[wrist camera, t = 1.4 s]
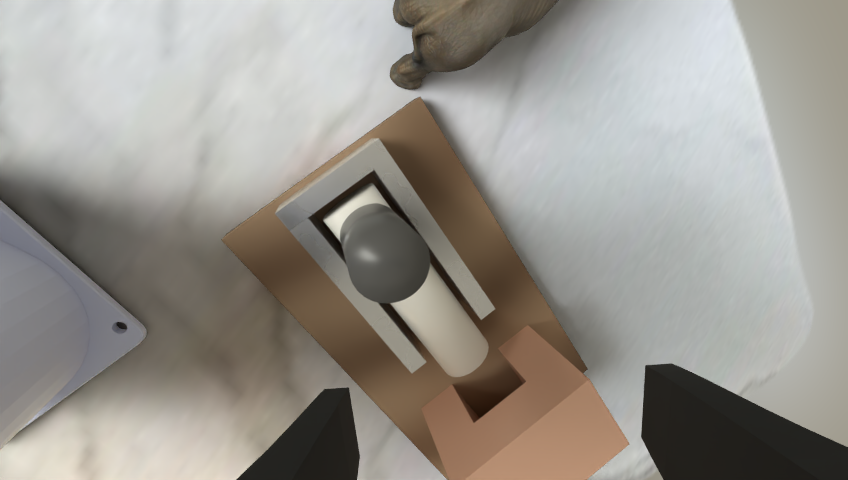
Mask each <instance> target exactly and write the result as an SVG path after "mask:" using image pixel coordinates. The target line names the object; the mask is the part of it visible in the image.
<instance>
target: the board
mask: <svg viewBox="0 0 848 480" xmlns="http://www.w3.org/2000/svg"><path fill="white" fill-rule="evenodd" d="M371 138H376V139H380V141H381V142H382V144H383V145H384V147H385V148H386V150H387V151H388V152H389V154H390V155H391V157H392V158H393V160H394V161H395V163H396V164H397V166H398V167H399V169H400V170H401V171H402V173H403V174H404V176H405V177H406V179H407V180H408V182H409V183H410V185H411V186H412V188H413V189H414V190H415V192H416V193H417V195H418V196H419V198H420V199H421V201H422V202H423V204H424V205H425V207H426V208H427V210H428V211H429V212H430V214H431V215H432V217H433V218H434V220H435V221H436V223H437V224H438V226H439V227H440V229H441V230H442V231H443V233H444V234H445V236H446V237H447V239H448V240H449V242H450V243H451V245H452V246H453V248H454V249H455V250H456V252H457V253H458V255H459V256H460V258H461V259H462V261H463V262H464V264H465V265H466V267H467V268H468V269H469V271H470V272H471V274H472V275H473V277H474V278H475V280H476V281H477V283H478V284H479V286H480V287H481V289H482V290H483V291H484V293H485V294H486V296H487V297H488V299H489V300H490V302H491V303H492V305H493V306H494V308H495V310H493V311H492V312H491V313H490V314H488V315H487V316H486V317H484V318H483V319H482V320H481V319H480V318H479V317H478V316H477V315H476V314H475V313H474V312H473V311H472V310H471V308H470V307H469V306H468V305H467V304H466V303H465V302H464V301H463V299H462V298H461V297H460V295H459V294H458V292H457V291H456V290H455V288H454V287H453V285H452V284H451V283H450V281H449V280H448V278H447V277H446V276H445V274H444V273H443V271H442V270H441V269H440V267H439V266H438V264H437V263H436V262H435V260H434V259H433V257H432V256H431V255H430V263H431V264H432V266H433V267H434V269H435V270H436V271H437V273H438V274H439V275H440V277H441V278H442V280H443V281H444V282H445V284H446V285H447V286H448V288H449V289H450V291H451V292H452V293H453V295H454V296H455V298H456V299H457V300H458V302H459V303H460V304H461V306H462V307H463V309H464V310H465V311H466V313H467V314H468V316H469V317H470V318H471V320H472V321H473V322H474V324H475V325H476V327H477V328H478V329H479V331H480V332H481V334H482V335H483V336H484V338H485V339H486V340H487V342H488V346H489V349H488V354H487V356H486V358H485V360H484V361H483V363H482V364H481V365H480V366H479V367H478V368H477V369H476V370H474V371H473V372H471V373H470V374H467V375H465V376H462V377H452V376H449V375H448V374H447V373H446V372H445V371H444V370H443V368H442V367H441V366H440V365H439V363H438V362H437V361H436V360H435V358H434V357H433V356H432V355H431V353H430V352H429V351H428V350H427V349H426V347H425V346H424V345H423V344H422V342H421V341H420V340H419V339H418V337H417V336H416V335H415V334H414V332H413V331H412V330H411V329H410V328H409V326H408V325H407V324H406V323H405V321H404V320H403V319H402V318H401V316H400V315H399V314H398V313H397V311H396V310H395V309H394V308H393V307H392V305H391V304H390V303H386V304H387V305H388V306H389V307H390V309H391V310H392V311H393V312H394V314H395V315H396V316H397V317H398V318H399V320H400V321H401V322H402V323H403V325H404V326H405V327H406V328H407V330H408V331H409V332H410V333H411V334H412V336H413V337H414V338H415V340H416V342H417V344H418V346H419V348H420V350H421V352H422V354H423V356H424V358H425V360H426V363H425V364H424V365H422V366H421V367H420V368H419V369H417V370H416V371H415V372H413V373H411V372H410V371H409V370H408V369H407V367H406V366H405V365H404V364H403V363H402V362H401V360H400V359H399V358H398V357H397V356H396V355H395V353H394V352H393V351H392V350H391V349H390V348H389V346H388V345H387V344H386V343H385V342H384V341H383V339H382V338H381V337H380V336H379V335H378V334H377V332H376V331H375V330H374V329H373V328H372V327H371V325H370V324H369V323H368V322H367V321H366V320H365V318H364V317H363V316H362V315H361V314H360V313H359V311H358V310H357V309H356V308H355V307H354V306H353V304H352V303H351V302H350V301H349V300H348V299H347V297H346V296H345V295H344V294H343V293H342V292H341V290H340V289H339V288H338V287H337V286H336V285H335V283H334V282H333V281H332V280H331V279H330V278H329V276H328V275H327V274H326V273H325V272H324V271H323V269H322V268H321V267H320V266H319V265H318V264H317V262H316V261H315V260H314V259H313V258H312V257H311V255H310V254H309V253H308V252H307V251H306V249H305V248H304V247H303V246H302V245H301V244H300V242H299V241H298V240H297V239H296V238H295V237H294V235H293V234H292V233H291V232H290V231H289V230H288V228H287V227H286V226H285V225H284V224H283V223H282V221H281V220H280V219H279V218H278V217H277V216H276V214H275V212H276V210H277V209H278V207H279V205H280V204H281V203H282V202H283V201H285V200H286V199H288V198H289V197H290V196H292V195H293V194H294V193H296V192H297V191H299V190H300V189H301V188H303V187H304V186H306V185H307V184H308V183H310V182H311V181H313V180H314V179H315V178H317V177H318V176H320V175H321V174H322V173H324V172H325V171H326V170H328V169H329V168H331V167H332V166H333V165H335V164H336V163H338V162H339V161H340V160H342V159H343V158H345V157H346V156H347V155H349V154H350V153H351V152H353V151H354V150H356V149H357V148H358V147H360V146H361V145H363V144H364V143H365V142H367V141H368V140H370V139H371ZM370 183H373V184H374V185H375V187H376V188H377V190H378V191H379V192H380V194H381V195H382V197H383V198H384V199H385V201H386V202H387V203H388V205H389V206H390V208H391V209H392V210H393V211H394V212H395V213H396V214H397V215H398V216H399V217H400V218H401V219H403V220H404V221H405V222H406V223H407V221H406V220H405V218H404V217H403V216H402V214H401V213H400V211H399V210H398V209H397V207H396V206H395V204H394V203H393V202H392V200H391V199H390V197H389V196H388V195H387V193H386V192H385V190H384V189H383V188H382V186H381V185H380V183H379V182H378V181H377V179H376V178H375V176H374V175H373V174H372V172H370V173H369V174H367V175H366V176H365V177H363V178H362V179H361V180H359V181H358V182H356V183H355V184H354V185H352V186H351V187H350V188H348V189H347V190H345V191H344V192H343V193H341V194H340V195H339V196H337V197H336V198H334V199H333V200H332V201H330V202H329V203H328V204H326V205H325V206H323V207H322V208H321V209H319V210H318V211H316V212H315V213H314V215H315V216H316V218H317V219H318V220H319V221H320V223H321V224H322V225H323V226H324V227H325V229H326V230H327V231H328V232H329V234H330V235H331V236H332V237H333V239H334V240H335V241H336V242H337V243H338V245H339V246H340V247H341V248H342V244H341V242H340V241H339V240H338V239H337V237H336V236H335V235H334V234H333V232H332V231H331V230H330V229H329V227H328V226H327V225H326V224H325V222H324V221H323V218H324V216H325V215H326V214H327V213H328V212H329V211H330V210H331V209H332V208H333V207H334V206H335V205H336V204H338V203H339V202H340V201H341V200H343V199H344V198H345V197H347V196H348V195H350V194H351V193H353V192H354V191H356V190H357V189H359V188H361V187H363V186H365V185H367V184H370ZM407 224H408V223H407ZM408 225H409V224H408ZM409 226H410V225H409ZM222 241H223V242H224V243H225V244H226V245H227V246H228V248H229V249H230V250H231V251H232V252H233V253H234V254H235V255H236V256H237V257H238V258H239V259H240V260H241V261H242V262H243V263H244V264H245V266H246V267H247V268H248V269H249V270H250V271H251V272H252V273H253V274H254V275H255V276H256V277H257V278H258V279H259V280H260V281H261V283H262V284H263V285H264V286H265V287H266V288H267V289H268V290H269V291H270V292H271V293H272V294H273V295H274V296H275V297H276V298H277V299H278V301H279V302H280V303H281V304H282V305H283V306H284V307H285V308H286V309H287V310H288V311H289V312H290V313H291V314H292V315H293V316H294V318H295V319H296V320H297V321H298V322H299V323H300V324H301V325H302V326H303V327H304V328H305V329H306V330H307V331H308V332H309V333H310V334H311V336H312V337H313V338H314V339H315V340H316V341H317V342H318V343H319V344H320V345H321V346H322V347H323V348H324V349H325V350H326V351H327V352H328V354H329V355H330V356H331V357H332V358H333V359H334V360H335V361H336V362H337V363H338V364H339V365H340V366H341V367H342V368H343V369H344V371H345V372H346V373H347V374H348V375H349V376H350V377H351V378H352V379H353V380H354V381H355V382H356V383H357V384H358V385H359V386H360V387H361V389H362V390H363V391H364V392H365V393H366V394H367V395H368V396H369V397H370V398H371V399H372V400H373V401H374V402H375V403H376V404H377V406H378V407H379V408H380V409H381V410H382V411H383V412H384V413H385V414H386V415H387V416H388V417H389V418H390V419H391V420H392V421H393V422H394V424H395V425H396V426H397V427H398V428H399V429H400V430H401V431H402V432H403V433H404V434H405V435H406V436H407V437H408V438H409V439H410V440H411V442H412V443H413V444H414V445H415V446H416V447H417V448H418V449H419V450H420V451H421V452H422V453H423V454H424V455H425V456H426V457H427V459H428V460H429V461H430V462H431V463H432V464H433V465H434V466H435V467H436V468H437V469H438V470H439V471H440V472H441V473H442V474H443V475H444V477H445V478H446V479H447V480H449V478H448V476H447V473H446V471H445V468H444V465H443V463H442V460H441V458H440V455H439V453H438V450H437V448H436V445H435V443H434V440H433V437H432V435H431V432H430V430H429V427H428V425H427V422H426V420H425V417H424V415H423V412H422V409H421V408H422V407H424V406H425V405H426V404H427V403H429V402H430V401H431V400H433V399H434V398H435V397H436V396H438V395H439V394H440V393H442V392H443V391H444V390H445V389H447V388H448V387H449V386H450V385H453V386H454V387H455V389H456V390H457V391H458V392H459V393H460V395H461V396H462V397H463V398H464V400H465V401H466V402H467V403H468V404H469V406H470V407H471V408H472V409H473V411H474V412H475V413H476V414H477V416H478V417H479V418H481V417H482V416H484V415H485V414H486V413H487V412H489V411H490V410H491V409H493V408H494V407H495V406H496V405H498V404H499V403H500V402H501V401H503V400H504V399H505V398H506V397H508V396H509V395H510V394H511V393H513V392H514V391H515V390H516V389H518V388H519V387H520V386H521V385H523V383H522V382H521V380H520V379H519V378H518V376H517V375H516V373H515V372H514V371H513V369H512V368H511V366H510V365H509V364H508V362H507V361H506V359H505V358H504V357H503V355H502V354H501V352H500V351H499V350H498V348H499V347H500V346H501V345H503V344H504V343H505V342H507V341H508V340H509V339H510V338H512V337H513V336H514V335H516V334H517V333H518V332H519V331H521V330H522V329H523V328H524V327H526V326H527V325H528V326H529V327H530V328H532V329H533V330H534V331H535V332H536V333H537V334H538V335H540V336H541V337H542V338H543V339H544V340H545V341H546V342H548V343H549V344H550V345H551V346H552V347H553V348H554V349H555V350H557V351H558V352H559V353H560V354H561V355H562V356H563V357H565V358H566V359H567V360H568V361H569V362H570V363H571V364H573V365H574V366H575V367H576V368H577V369H578V370H579V371H581V372H582V373H584V372H585V371H586V370H588V369H587V367H586V366H585V364H584V362H583V361H582V359H581V357H580V356H579V354H578V353H577V351H576V349H575V348H574V346H573V344H572V343H571V341H570V340H569V338H568V336H567V335H566V333H565V331H564V330H563V328H562V327H561V325H560V323H559V322H558V320H557V318H556V317H555V315H554V314H553V312H552V310H551V309H550V307H549V305H548V304H547V302H546V301H545V299H544V297H543V296H542V294H541V292H540V291H539V289H538V288H537V286H536V284H535V283H534V281H533V279H532V278H531V276H530V275H529V273H528V271H527V270H526V268H525V266H524V265H523V263H522V262H521V260H520V258H519V257H518V255H517V253H516V252H515V250H514V249H513V247H512V245H511V244H510V242H509V240H508V239H507V237H506V235H505V234H504V232H503V231H502V229H501V227H500V226H499V224H498V222H497V221H496V219H495V218H494V216H493V214H492V213H491V211H490V209H489V208H488V206H487V205H486V203H485V201H484V200H483V198H482V196H481V195H480V193H479V192H478V190H477V188H476V187H475V185H474V183H473V182H472V180H471V179H470V177H469V175H468V174H467V172H466V170H465V169H464V167H463V166H462V164H461V162H460V161H459V159H458V157H457V156H456V154H455V153H454V151H453V149H452V148H451V146H450V144H449V143H448V141H447V140H446V138H445V136H444V135H443V133H442V131H441V130H440V128H439V127H438V125H437V123H436V122H435V120H434V118H433V117H432V115H431V114H430V112H429V110H428V109H427V107H426V105H425V104H424V102H423V101H422V99H421V97H419V98H416V99H414V100H413V101H411V102H410V103H408V104H407V105H406V106H404V107H403V108H402V109H400V110H399V111H397V112H396V113H395V114H393V115H392V116H390V117H389V118H388V119H386V120H385V121H383V122H382V123H381V124H379V125H378V126H376V127H375V128H374V129H372V130H371V131H369V132H368V133H367V134H365V135H364V136H363V137H361V138H360V139H358V140H357V141H356V142H354V143H353V144H351V145H350V146H349V147H347V148H346V149H344V150H343V151H342V152H340V153H339V154H337V155H336V156H335V157H333V158H332V159H330V160H329V161H328V162H326V163H325V164H324V165H322V166H321V167H319V168H318V169H317V170H315V171H314V172H312V173H311V174H310V175H308V176H307V177H305V178H304V179H303V180H301V181H300V182H298V183H297V184H296V185H294V186H293V187H291V188H290V189H289V190H287V191H286V192H285V193H283V194H282V195H280V196H279V197H278V198H276V199H275V200H273V201H272V202H271V203H269V204H268V205H266V206H265V207H264V208H262V209H261V210H259V211H258V212H257V213H255V214H254V215H252V216H251V217H250V218H248V219H247V220H246V221H244V222H243V223H241V224H240V225H239V226H237V227H236V228H234V229H233V230H232V231H230V232H229V233H227V234H226V235H225V236H224V237H223V238H222ZM342 250H343V248H342ZM429 254H430V253H429Z"/></svg>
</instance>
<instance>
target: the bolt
mask: <svg viewBox="0 0 848 480" xmlns="http://www.w3.org/2000/svg"><path fill="white" fill-rule="evenodd" d="M323 221H324V222H325V224H326V225H327V226H328V227H329V229H330V230H331V231H332V232H333V234H334V235H335V236H336V237H337V239H338V240H339V241H340V242H341V244H342V248H343V252H344V256H345V260H346V264H347V268H348V272H349V276H350V279H351V282H352V284H353V285H354V287H355V288H356V290H357V291H358V292H359V293H360V294H361V295H363V296H364V297H366V298H367V299H369V300H371V301H374V302H378V303H390V304H391V305H392V307H393V308H394V309H395V310H396V311H397V313H398V314H399V315H400V316H401V318H402V319H403V320H404V321H405V323H406V324H407V325H408V326H409V328H410V329H411V330H412V331H413V332H414V334H415V335H416V336H417V337H418V339H419V340H420V341H421V342H422V344H423V345H424V346H425V347H426V349H427V350H428V351H429V352H430V353H431V355H432V356H433V357H434V358H435V360H436V361H437V362H438V363H439V365H440V366H441V367H442V368H443V370H444V371H445V372H446V373H447V374H448V375H449V376H452V377H462V376H465V375H467V374H470V373H471V372H473V371H474V370H476V369H477V368H478V367H479V366H480V365H481V364H482V363H483V361H484V360H485V358H486V356H487V354H488V349H489V346H488V342H487V340H486V339H485V338H484V336H483V335H482V334H481V332H480V331H479V329H478V328H477V327H476V325H475V324H474V322H473V321H472V320H471V318H470V317H469V316H468V314H467V313H466V311H465V310H464V309H463V307H462V306H461V304H460V303H459V302H458V300H457V299H456V298H455V296H454V295H453V293H452V292H451V291H450V289H449V288H448V286H447V285H446V284H445V282H444V281H443V280H442V278H441V277H440V275H439V274H438V273H437V271H436V270H435V269H434V267H433V266H432V264H431V263H430V254H429V250H428V247H427V245H426V243H425V242H424V240H423V239H422V237H421V236H420V235H419V234H418V233H417V232H415V231H414V230H413V229H412V228H411V227H410V226H409V225H408V224H407V223H406V222H405V221H404V220H403V219H401V218H400V217H399V216H398V215H397V214H396V213H395V212H394V211H393V210H392V209H391V208H390V206H389V205H388V203H387V202H386V201H385V199H384V198H383V197H382V195H381V194H380V192H379V191H378V190H377V188H376V187H375V185H374V184H373V183H370V184H367V185H365V186H363V187H361V188H359V189H357V190H356V191H354V192H353V193H351V194H350V195H348V196H347V197H345V198H344V199H343V200H341V201H340V202H339V203H338V204H336V205H335V206H334V207H333V208H332V209H331V210H330V211H329V212H328V213H327V214H326V215H325V216H324V218H323Z"/></svg>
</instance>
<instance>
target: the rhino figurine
mask: <svg viewBox="0 0 848 480" xmlns="http://www.w3.org/2000/svg"><path fill="white" fill-rule="evenodd" d="M558 1H559V0H395V2H394V6H393V15H394V19H395V21H396V22H397V23H398V24H400V25H402V26H411V25H413V26H415V27H414V28H413V31H412V39H413V45H414V51H413V52H412V53H411V54H406V55H404V56H403V57H402V58H401V59H400V60H398V61H397V62H396V63H395V64H393V65H392V67H391V70H390V78H391V80H392V81H393V82H394V83H395V84H396V85H397V86H399V87H401V88H404V89H417V88H419V87H420V85H421V82H422V79H423V78H424V77H425V76H426V74H428V73H430V72H432V71H434V72H451V71H457V70H461V69H464V68H467V67H469V66H471V65H473V64H475V63H476V62H477V61H478V60H480V59H481V58H482V57H483V56H484V55H486V54H487V53H488V52H489V51H490V50H491V49H492V48H493V47H494V46H495V45H496V44H498V43H499V42H500V41H501V40H502V39H503V38H505V37H510V36H514V35H517V34H520V33H522V32H524V31H526V30H528V29H530V28H531V27H532V26H534V25H535V24H536V23H537V22H538V21H539V20H540V19H542V18H543V16H544V15H545V14H546V13H547V12H548V11H549V10H550V9H551V8H552V7H553V6H554V5H555V4H556V3H557V2H558Z"/></svg>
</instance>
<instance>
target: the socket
mask: <svg viewBox="0 0 848 480" xmlns="http://www.w3.org/2000/svg"><path fill="white" fill-rule="evenodd" d="M498 350H499V351H500V352H501V354H502V355H503V357H504V358H505V359H506V361H507V362H508V364H509V365H510V366H511V368H512V369H513V371H514V372H515V373H516V375H517V376H518V378H519V379H520V380H521V382H522V383H523V385H521V386H520V387H519V388H518V389H516V390H515V391H514V392H513V393H511V394H510V395H509V396H508V397H506V398H505V399H504V400H503V401H501V402H500V403H499V404H498V405H496V406H495V407H494V408H493V409H491V410H490V411H489V412H487V413H486V414H485V415H484V416H482V417H481V418H479V417H478V416H477V414H476V413H475V412H474V411H473V409H472V408H471V407H470V406H469V404H468V403H467V402H466V401H465V400H464V398H463V397H462V396H461V395H460V393H459V392H458V391H457V390H456V389H455V387H454V386H453V385H450V386H449V387H448V388H447V389H445V390H444V391H443V392H442V393H440V394H439V395H438V396H436V397H435V398H434V399H433V400H431V401H430V402H429V403H427V404H426V405H425V406H424V407H422V408H421V409H422V412H423V415H424V417H425V420H426V422H427V425H428V427H429V430H430V432H431V435H432V437H433V440H434V443H435V445H436V448H437V450H438V453H439V455H440V458H441V460H442V463H443V465H444V468H445V471H446V473H447V476H448V478H449V480H587V479H588V478H589V477H590V476H592V475H593V474H594V473H595V472H596V471H598V470H599V469H600V468H601V467H602V466H604V465H605V464H606V463H607V462H608V461H610V460H611V459H612V458H613V457H614V456H616V455H617V454H618V453H619V452H621V451H622V450H623V449H624V448H625V447H627V446H628V445H629V442H628V441H627V439H626V437H625V436H624V434H623V433H622V431H621V429H620V428H619V426H618V425H617V423H616V421H615V420H614V418H613V417H612V415H611V413H610V412H609V410H608V408H607V407H606V405H605V404H604V402H603V400H602V399H601V397H600V396H599V394H598V392H597V391H596V389H595V388H594V386H593V384H592V383H591V381H590V379H588V378H587V377H586V376H585V375H584V374H583V373H582V372H581V371H579V370H578V369H577V368H576V367H575V366H574V365H573V364H571V363H570V362H569V361H568V360H567V359H566V358H565V357H563V356H562V355H561V354H560V353H559V352H558V351H557V350H555V349H554V348H553V347H552V346H551V345H550V344H549V343H548V342H546V341H545V340H544V339H543V338H542V337H541V336H540V335H538V334H537V333H536V332H535V331H534V330H533V329H532V328H530V327H529V326H528V325H527V326H526V327H524V328H523V329H522V330H521V331H519V332H518V333H517V334H516V335H514V336H513V337H512V338H510V339H509V340H508V341H507V342H505V343H504V344H503V345H501V346H500V347H499V348H498Z"/></svg>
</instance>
